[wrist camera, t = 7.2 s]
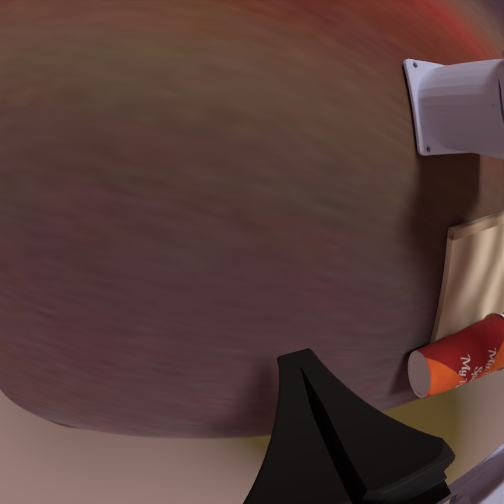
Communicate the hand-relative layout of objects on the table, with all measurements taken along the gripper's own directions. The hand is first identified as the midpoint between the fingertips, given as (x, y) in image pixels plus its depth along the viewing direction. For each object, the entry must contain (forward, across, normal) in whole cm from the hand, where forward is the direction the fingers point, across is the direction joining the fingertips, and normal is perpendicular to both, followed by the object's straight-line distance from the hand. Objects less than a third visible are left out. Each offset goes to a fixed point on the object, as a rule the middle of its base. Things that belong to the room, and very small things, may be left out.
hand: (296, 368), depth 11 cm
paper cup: (+7, -14, +16) cm, 22 cm away
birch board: (+10, -26, +10) cm, 30 cm away
